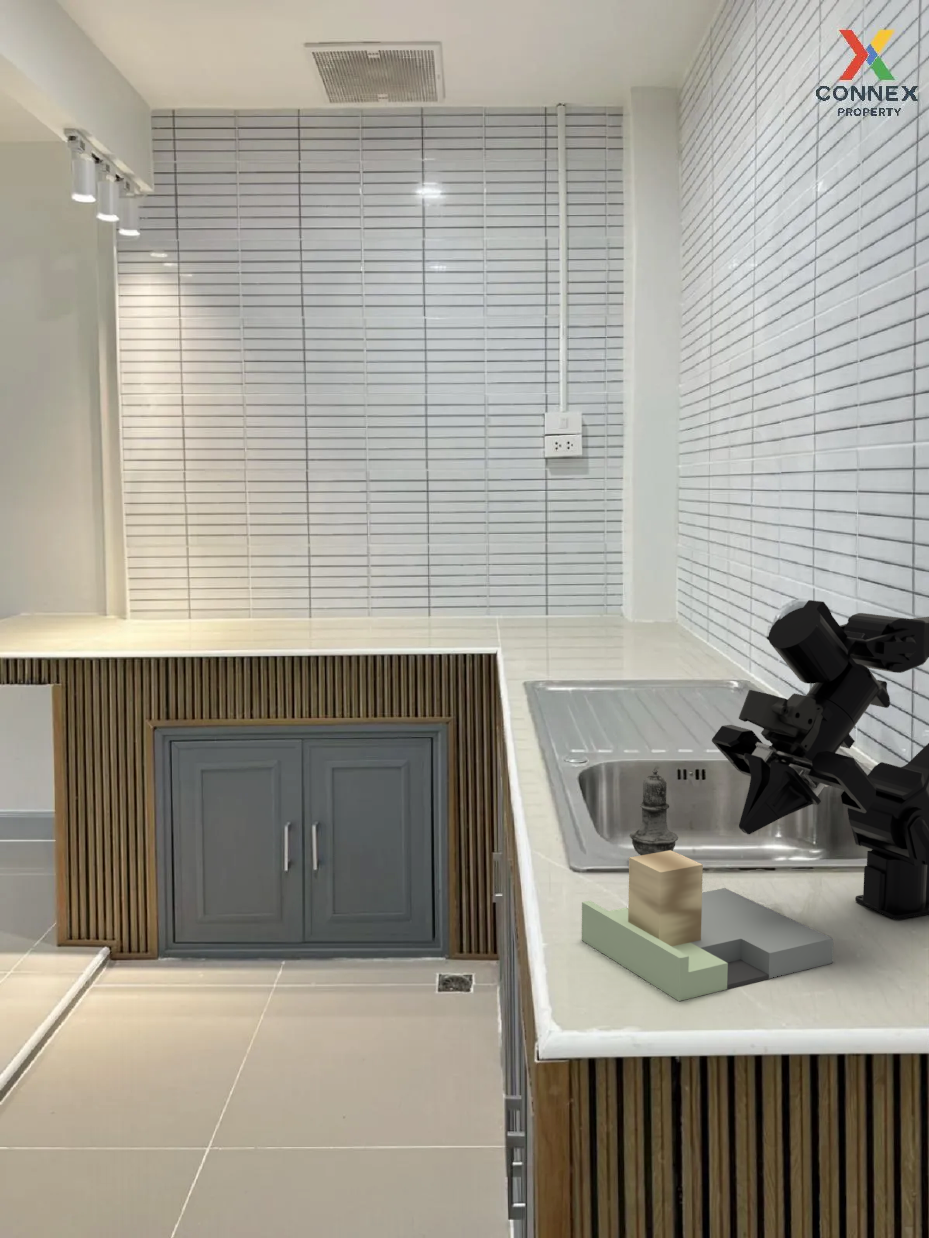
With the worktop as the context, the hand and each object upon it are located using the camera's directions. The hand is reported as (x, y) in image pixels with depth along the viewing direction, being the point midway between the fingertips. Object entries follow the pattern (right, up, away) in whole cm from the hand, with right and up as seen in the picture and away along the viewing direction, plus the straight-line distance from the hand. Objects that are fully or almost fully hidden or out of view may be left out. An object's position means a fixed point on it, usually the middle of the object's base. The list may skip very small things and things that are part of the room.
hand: (743, 830), depth 117 cm
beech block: (-9, -10, -3) cm, 13 cm away
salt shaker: (-5, -9, +26) cm, 28 cm away
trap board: (-4, -12, -1) cm, 13 cm away
